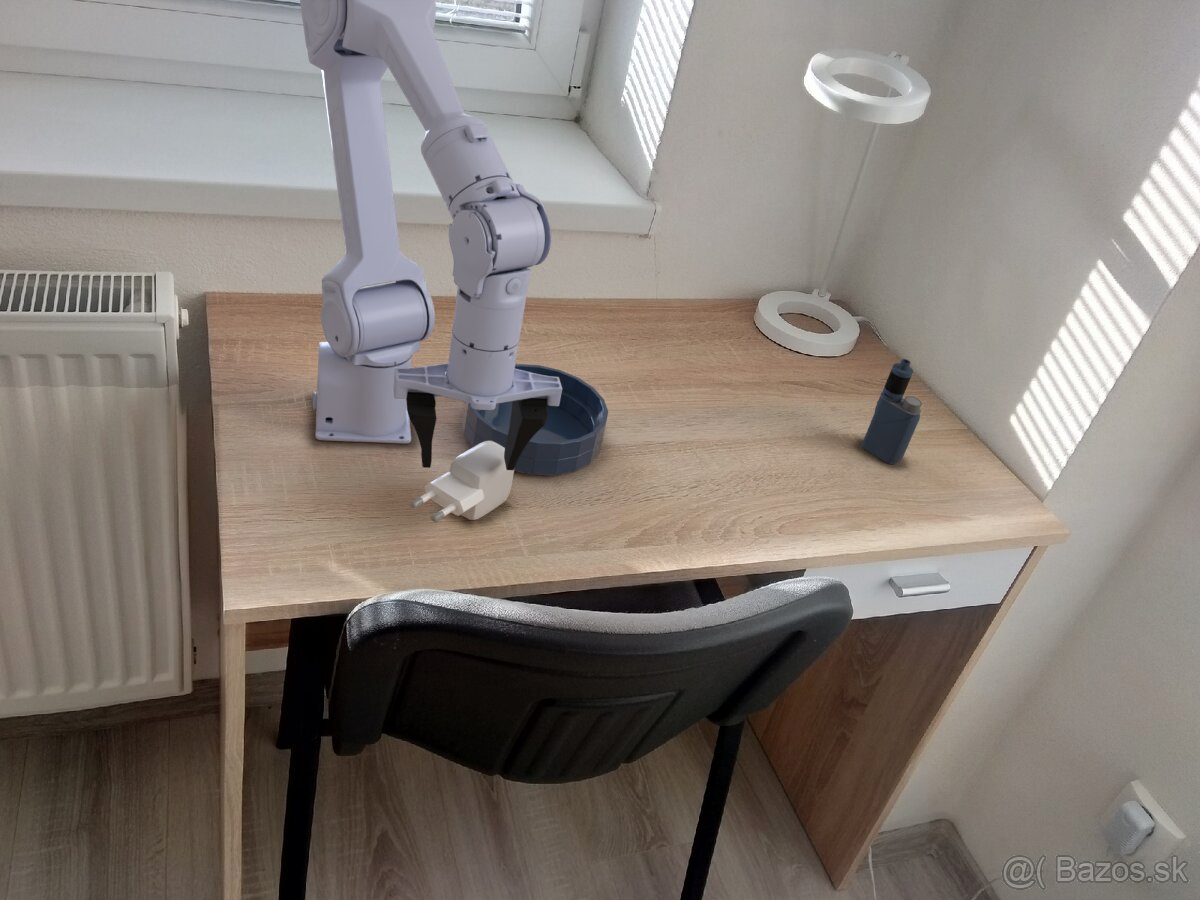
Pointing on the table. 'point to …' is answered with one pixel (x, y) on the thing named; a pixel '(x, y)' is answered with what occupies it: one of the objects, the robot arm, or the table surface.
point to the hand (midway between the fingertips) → (467, 462)
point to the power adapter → (471, 483)
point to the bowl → (548, 427)
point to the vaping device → (893, 417)
